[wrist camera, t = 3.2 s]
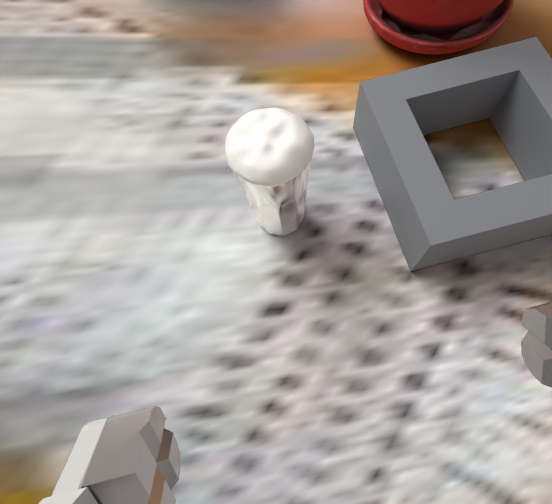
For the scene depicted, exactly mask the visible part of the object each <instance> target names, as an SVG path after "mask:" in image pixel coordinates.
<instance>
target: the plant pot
mask: <svg viewBox="0 0 552 504" xmlns="http://www.w3.org/2000/svg"><path fill="white" fill-rule="evenodd" d="M513 2H514V0H363V4H364V11H365V14H366V17H367V19H368V21H369V23H370V24H371V26H372V27H373V29H374V30H375V31H376V32H377V33H378V34H379V35H380V36H381V37H382V38H383V39H385V40H386V41H388V42H389V43H391V44H393V45H394V46H396V47H399V48H401V49H404V50H407V51H410V52H415V53H420V54H430V55H437V54H448V53H454V52H459V51H463V50H466V49H469V48H471V47H474V46H476V45H478V44H480V43H482V42H483V41H485V40H486V39H488V38H489V37H490V36H491V35H493V34H494V33H495V32H496V31H497V30H498V29H499V28H500V27H501V26H502V25H503V24H504V22H505V21H506V20H507V18H508V16H509V14H510V12H511V10H512V7H513Z"/></svg>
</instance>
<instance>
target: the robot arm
mask: <svg viewBox="0 0 552 504" xmlns="http://www.w3.org/2000/svg"><path fill="white" fill-rule="evenodd" d="M522 325H523V326H524V327H525V328H526V329H527V330H528V333H527V334H526V335H525V337H524V338H523V340H522V341H521V348H522V356H523V359H524V361H525V364H526V366H527V368H528V369H529V370H530V372H531V373H532V375H533V376H534V377H535V378H536V379H537V380H538V381H539V382H540V383H541V384H544V385H546V386H549V387H552V302H550V303H546V304H542V305H538V306H535V307H531V308H527V309H526V310H525V312H524V313H523V316H522ZM165 420H166V418H165V416H164V414H163V412H162V410H161V408H160V407H157V406H153V407H149V408H144V409H140V410H136V411H132V412H128V413H123V414H119V415H115V416H111V417H109V418H104V419H100V420H96V421H92V422H88V423H87V424H86V425H85V426H84V427H83V428H82V429H81V432H80V434H79V436H78V438H77V440H76V443H75V445H74V447H73V449H72V451H71V454H70V456H69V458H68V460H67V463H66V465H65V467H64V469H63V471H62V474H61V476H60V478H59V480H58V482H57V485H56V487H55V489H54V491H53V493H52V496H51V497H47V498H43V499H42V500H41V501H40V502H39V503H38V504H175V503H176V500H175V498H174V496H173V494H172V492H171V489H172V488H173V487H174V485H175V484H176V482H177V481H178V480H179V473H180V453H179V448H178V444H177V441H176V439H175V436H174V434H173V433H172V432H170V431H168V430H167V429H165V428H164V425H165Z"/></svg>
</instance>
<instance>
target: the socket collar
mask: <svg viewBox="0 0 552 504" xmlns="http://www.w3.org/2000/svg"><path fill="white" fill-rule="evenodd" d="M488 118H489V119H490V121H491V123H492V125H493V126H494V128H495V130H496V132H497V133H498V135H499V137H500V139H501V140H502V142H503V144H504V146H505V147H506V149H507V151H508V153H509V154H510V156H511V158H512V160H513V161H514V163H515V165H516V166H517V168H518V170H519V172H520V173H521V175H522V177H523V179H524V180H525V181H524V182H520V183H516V184H512V185H508V186H504V187H501V188H497V189H493V190H489V191H485V192H481V193H478V194H474V195H470V196H466V197H462V198H458V199H455V200H454V198H453V196H452V194H451V192H450V190H449V188H448V186H447V184H446V182H445V180H444V178H443V176H442V174H441V171H440V169H439V167H438V165H437V163H436V161H435V159H434V157H433V155H432V153H431V151H430V149H429V147H428V144H427V142H426V140H425V138H424V136H423V135H426V134H430V133H434V132H438V131H441V130H445V129H449V128H453V127H457V126H461V125H465V124H468V123H472V122H476V121H480V120H484V119H488ZM353 128H354V131H355V133H356V136H357V138H358V141H359V143H360V146H361V148H362V151H363V153H364V156H365V158H366V161H367V163H368V166H369V168H370V171H371V173H372V176H373V178H374V181H375V183H376V186H377V188H378V191H379V193H380V196H381V198H382V201H383V203H384V206H385V208H386V211H387V213H388V216H389V218H390V221H391V223H392V226H393V228H394V231H395V233H396V236H397V238H398V241H399V243H400V246H401V248H402V251H403V253H404V256H405V258H406V261H407V263H408V266H409V268H410V271H413V270H417V269H421V268H425V267H429V266H432V265H436V264H440V263H444V262H448V261H452V260H455V259H459V258H463V257H467V256H471V255H474V254H478V253H482V252H486V251H490V250H494V249H497V248H501V247H505V246H509V245H513V244H516V243H520V242H524V241H528V240H532V239H536V238H539V237H543V236H547V235H551V234H552V58H551V57H550V55H549V54H548V52H547V51H546V50H545V48H544V47H543V45H542V44H541V43H540V41H539V40H538V38H537V37H533V38H529V39H525V40H521V41H517V42H513V43H509V44H506V45H502V46H498V47H494V48H490V49H486V50H482V51H478V52H475V53H471V54H467V55H463V56H459V57H455V58H451V59H447V60H444V61H440V62H436V63H432V64H428V65H424V66H420V67H416V68H413V69H409V70H405V71H401V72H397V73H393V74H389V75H385V76H382V77H378V78H374V79H370V80H366V81H362V82H360V87H359V93H358V99H357V106H356V112H355V119H354V125H353Z"/></svg>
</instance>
